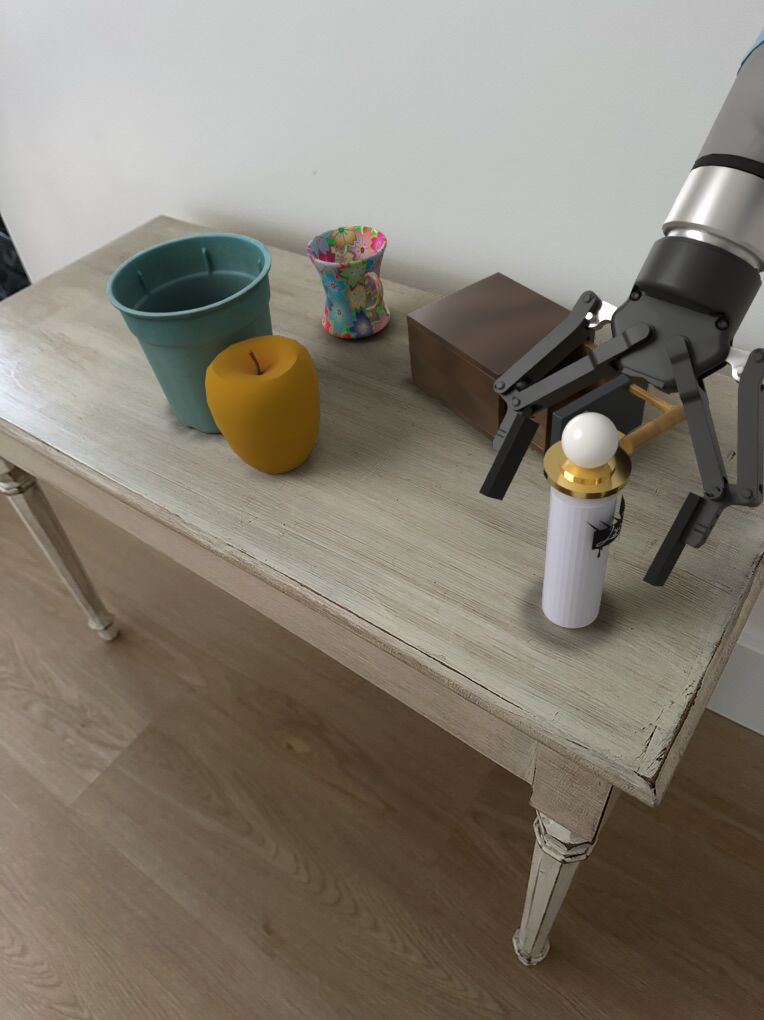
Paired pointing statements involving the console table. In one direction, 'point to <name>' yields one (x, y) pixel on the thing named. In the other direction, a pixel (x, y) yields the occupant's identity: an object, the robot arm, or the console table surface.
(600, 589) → the perfume bottle
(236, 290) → the flower pot
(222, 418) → the apple
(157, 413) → the console table surface
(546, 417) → the drawer
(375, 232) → the mug
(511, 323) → the cabinet
